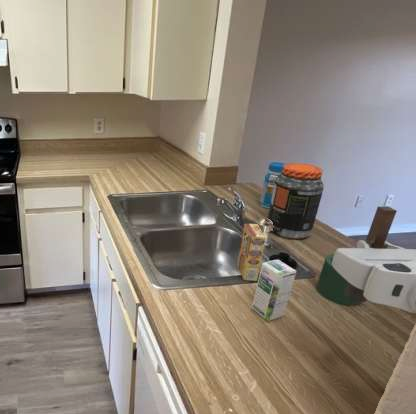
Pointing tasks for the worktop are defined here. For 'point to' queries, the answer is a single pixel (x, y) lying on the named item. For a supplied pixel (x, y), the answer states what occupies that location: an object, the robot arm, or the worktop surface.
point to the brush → (373, 244)
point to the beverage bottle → (270, 183)
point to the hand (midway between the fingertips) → (369, 243)
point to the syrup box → (273, 289)
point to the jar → (333, 284)
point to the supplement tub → (296, 200)
